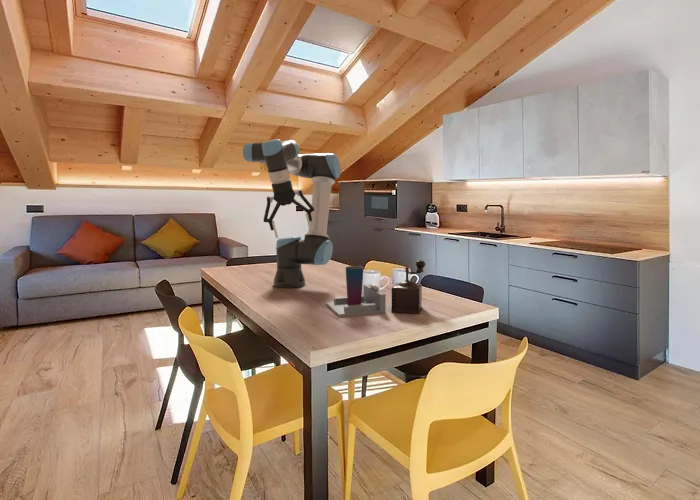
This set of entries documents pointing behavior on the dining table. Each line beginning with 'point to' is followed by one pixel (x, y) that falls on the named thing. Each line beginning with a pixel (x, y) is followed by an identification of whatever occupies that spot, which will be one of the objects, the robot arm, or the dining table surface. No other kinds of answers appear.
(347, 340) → the dining table surface
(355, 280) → the cup
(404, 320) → the dining table surface
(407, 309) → the manual coffee grinder
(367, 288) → the dock
